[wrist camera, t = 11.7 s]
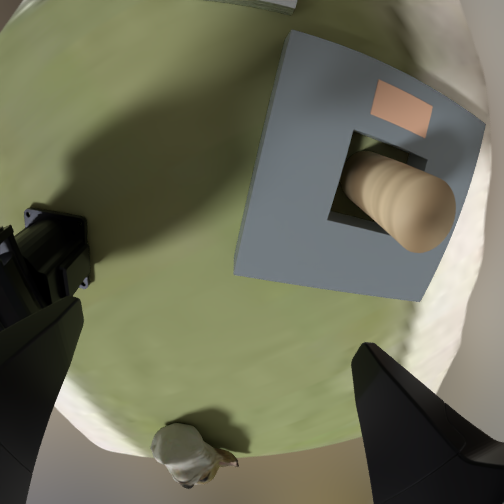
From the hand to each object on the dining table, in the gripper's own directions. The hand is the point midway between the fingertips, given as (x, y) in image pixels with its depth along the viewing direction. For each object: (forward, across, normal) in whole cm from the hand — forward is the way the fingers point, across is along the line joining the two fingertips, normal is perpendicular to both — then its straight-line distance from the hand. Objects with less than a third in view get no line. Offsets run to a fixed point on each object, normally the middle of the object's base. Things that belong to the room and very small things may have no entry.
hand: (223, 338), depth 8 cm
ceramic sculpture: (+13, 0, +34) cm, 37 cm away
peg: (+13, -9, -4) cm, 16 cm away
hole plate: (+13, -9, -4) cm, 16 cm away
